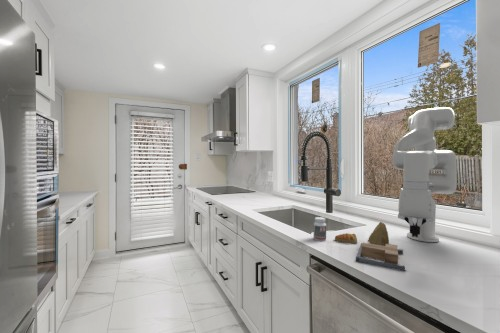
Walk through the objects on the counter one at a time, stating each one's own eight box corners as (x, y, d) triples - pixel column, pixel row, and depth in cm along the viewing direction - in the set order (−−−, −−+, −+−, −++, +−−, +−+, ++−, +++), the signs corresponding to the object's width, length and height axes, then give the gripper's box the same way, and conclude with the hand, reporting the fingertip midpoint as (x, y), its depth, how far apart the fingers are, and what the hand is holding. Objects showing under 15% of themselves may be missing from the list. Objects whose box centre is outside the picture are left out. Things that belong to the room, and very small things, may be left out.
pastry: (336, 243, 109) (336, 234, 109) (333, 238, 115) (333, 230, 115) (358, 244, 107) (358, 236, 107) (354, 239, 114) (354, 231, 114)
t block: (363, 249, 101) (363, 240, 101) (397, 255, 95) (397, 245, 95) (360, 259, 90) (360, 248, 90) (397, 266, 84) (398, 255, 84)
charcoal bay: (361, 246, 104) (361, 243, 104) (402, 253, 97) (402, 249, 97) (355, 261, 89) (355, 257, 88) (405, 271, 81) (405, 266, 81)
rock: (396, 246, 98) (395, 236, 107) (382, 228, 100) (382, 220, 108) (372, 257, 103) (373, 247, 112) (359, 240, 105) (360, 231, 113)
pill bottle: (328, 240, 112) (329, 219, 112) (317, 241, 110) (318, 220, 110) (321, 237, 117) (321, 216, 117) (311, 237, 116) (311, 217, 115)
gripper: (439, 185, 86) (438, 235, 88) (391, 183, 94) (390, 230, 95) (443, 188, 80) (442, 242, 81) (391, 186, 88) (390, 235, 89)
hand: (414, 235), depth 88 cm, fingers closed
